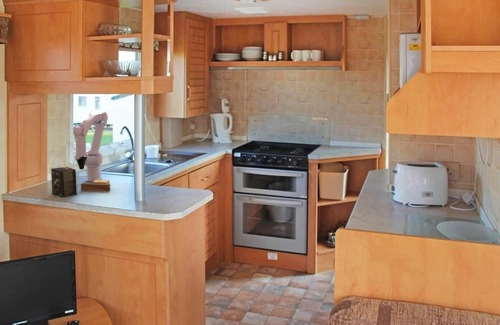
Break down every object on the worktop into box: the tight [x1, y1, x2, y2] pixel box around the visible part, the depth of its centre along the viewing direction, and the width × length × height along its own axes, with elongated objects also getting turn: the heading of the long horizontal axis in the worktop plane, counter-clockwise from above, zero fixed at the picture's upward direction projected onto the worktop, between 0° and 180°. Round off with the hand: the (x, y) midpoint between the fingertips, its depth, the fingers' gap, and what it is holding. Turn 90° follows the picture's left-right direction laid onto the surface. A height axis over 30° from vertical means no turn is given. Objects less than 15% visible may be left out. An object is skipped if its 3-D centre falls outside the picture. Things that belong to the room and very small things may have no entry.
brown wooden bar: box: [80, 182, 111, 193], centre depth 289 cm, size 3×16×4 cm, turn 89°
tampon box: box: [50, 166, 78, 198], centre depth 278 cm, size 11×9×15 cm
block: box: [92, 179, 110, 184], centre depth 293 cm, size 6×8×5 cm
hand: (81, 169), depth 299 cm, fingers closed
